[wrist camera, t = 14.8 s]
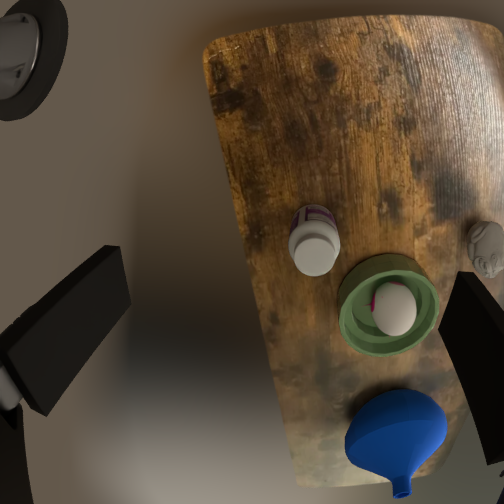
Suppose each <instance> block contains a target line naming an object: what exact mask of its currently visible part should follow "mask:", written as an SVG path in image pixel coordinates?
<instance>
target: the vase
mask: <svg viewBox="0 0 504 504" xmlns="http://www.w3.org/2000/svg"><path fill="white" fill-rule="evenodd" d="M446 433H447V420H446V417H445V414H444V411H443V410H442V409H441V408H440V406H439V405H438V404H437V403H436V402H435V401H434V400H433V399H432V398H431V397H429V396H427V395H425V394H423V393H421V392H418V391H415V390H410V389H400V390H392V391H388V392H385V393H382V394H380V395H378V396H377V397H375V398H373V399H371V400H370V401H369V402H367V403H366V404H365V405H364V406H363V407H362V408H361V409H360V410H359V411H358V413H357V414H356V415H355V416H354V418H353V420H352V422H351V424H350V426H349V429H348V431H347V433H346V436H345V453H346V455H347V457H348V459H349V460H350V462H351V463H352V464H354V465H355V466H357V467H359V468H362V469H365V470H367V471H370V472H373V473H375V474H378V475H380V476H383V477H385V478H387V479H388V480H390V481H391V482H392V485H393V497H394V498H404V497H407V496H409V495H411V494H412V489H411V477H412V475H413V473H414V472H415V471H416V470H417V469H418V468H419V467H420V466H421V465H422V464H423V463H424V462H425V461H426V459H428V458H429V457H430V456H431V455H432V454H433V453H434V452H435V451H436V450H437V449H438V448H439V446H440V445H441V444H442V443H443V441H444V439H445V437H446Z"/></svg>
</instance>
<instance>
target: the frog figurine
mask: <svg viewBox="0 0 504 504" xmlns="http://www.w3.org/2000/svg"><path fill="white" fill-rule="evenodd" d="M467 250H468V257H469V259H470V260H472V261H473V262H472V264H473V266H474V268H475V270H476V271H477V272H478V273H480V274H481V275H482V276H484V277H486V278H493V277H495V276H496V275H497V274H498V273H499V272H500V270H503V269H504V231H503V228H502V227H501V225H499V224H498V223H496V222H492V221H491V222H487V221H480V222H478V223H476V224H474V225H473V226H472V227H471V228H470V230H469V232H468V235H467Z"/></svg>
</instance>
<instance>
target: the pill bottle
mask: <svg viewBox="0 0 504 504" xmlns="http://www.w3.org/2000/svg"><path fill="white" fill-rule="evenodd" d="M288 248H289V253H290V255H291V257H292V259H293V260H294V262H295V265H296V267H297V268H298V269H299V270H300V271H301V272H302V273H304V274H306V275H309V276H320V275H323V274H325V273H327V272H328V271H329V270H330V269H331V268H332V267H333V265H334V263H335V259H336V258H337V256H338V254H339V250H340V239H339V235H338V231H337V227H336V223H335V220H334V217H333V215H332V214H331V212H330V211H329V210H328V209H326V208H325V207H323V206H320V205H314V204H313V205H306V206H304V207H302V208H300V209H299V210H298V211H297V212H296V213H295V215H294V216H293V219H292V222H291V228H290V235H289V241H288Z"/></svg>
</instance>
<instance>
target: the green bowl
mask: <svg viewBox="0 0 504 504" xmlns="http://www.w3.org/2000/svg"><path fill="white" fill-rule="evenodd" d="M390 281H395V282H399V283H402V284H403V285H405V286H406V287H407V288H408V289H409V290H410V291H411V293H412V294H413V296H414V299H415V302H416V309H417V311H416V318H415V321H414V323H413V325H412V327H411V328H410V329H409V330H408V331H407V332H406V333H404V334H402V335H398V336H391V335H390V337H389V335H388V334H385V333H384V332H382V331H381V330H380V329H379V328H378V327H377V325H376V324H375V322H374V320H373V317H372V312H371V305H368V304H371V302H372V298H373V295H374V293H375V291H376V290H377V289H378V288H379V287H380V286H381V285H382V284H384V283H386V282H390ZM365 305H367V306H365ZM361 306H362V307H361ZM337 308H338V320H339V326H340V331H341V335H342V336H343V338H344V339H345V341H346V342H347V344H348V345H349V346H350V347H352V348H353V349H355V350H356V351H358V352H359V353H363V354H366V355H369V356H378V357H387V356H392V355H396V354H400V353H403V352H405V351H407V350H409V349H411V348H413V347H415V346H416V345H417V344H418V343H419V342H421V341H422V340H423V339H424V338H425V337H426V336H427V335H428V334H429V332H430V331H431V329H432V328H433V327H434V325H435V322H436V319H437V316H438V314H439V297H438V294H437V292H436V289H435V287H434V285H433V283H432V282H431V280H430V278H429V277H428V275H427V274H426V272H425V270H424V269H423V268H422V267H421V266H420V265H419V264H418V263H417V262H416V261H415V260H412V259H410V258H408V257H406V256H403V255H396V254H384V255H380V256H375V257H372V258H369V259H368V260H366V261H364V262H362V263H360V264H358V265H357V266H356V267H355V268H354V269H353V270H352V271H351V272H350V273H349V274H348V275H347V276H346V277H345V279H344V281H343V283H342V285H341V287H340V288H339V293H338V299H337Z"/></svg>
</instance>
